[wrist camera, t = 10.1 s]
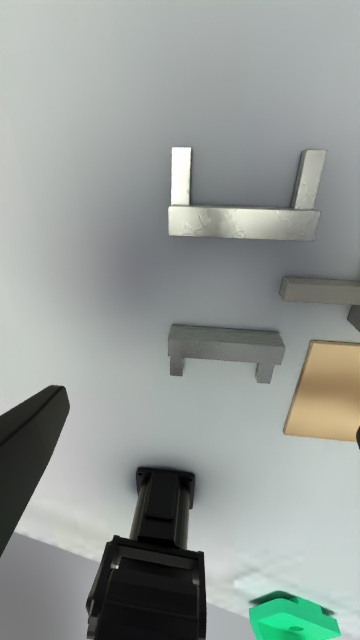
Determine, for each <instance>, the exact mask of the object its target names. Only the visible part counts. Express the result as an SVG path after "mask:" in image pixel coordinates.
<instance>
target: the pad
mask: <svg viewBox="0 0 360 640" xmlns="http://www.w3.org/2000/svg"><path fill="white" fill-rule="evenodd" d="M359 426H360V344H357V343H342V342H328V341H314V340H311V343H310V347H309V350H308V353H307V356H306V359H305V363H304V366H303V369H302V372H301V375H300V378H299V382H298V385H297V388H296V391H295V394H294V398H293V401H292V404H291V407H290V410H289V414H288V417H287V420H286V423H285V426H284V430H283V433H284V435H291V436H301V437H311V438H321V439H332V440H342V441H352V442H357V440H356V432H357V430H358V428H359Z"/></svg>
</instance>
